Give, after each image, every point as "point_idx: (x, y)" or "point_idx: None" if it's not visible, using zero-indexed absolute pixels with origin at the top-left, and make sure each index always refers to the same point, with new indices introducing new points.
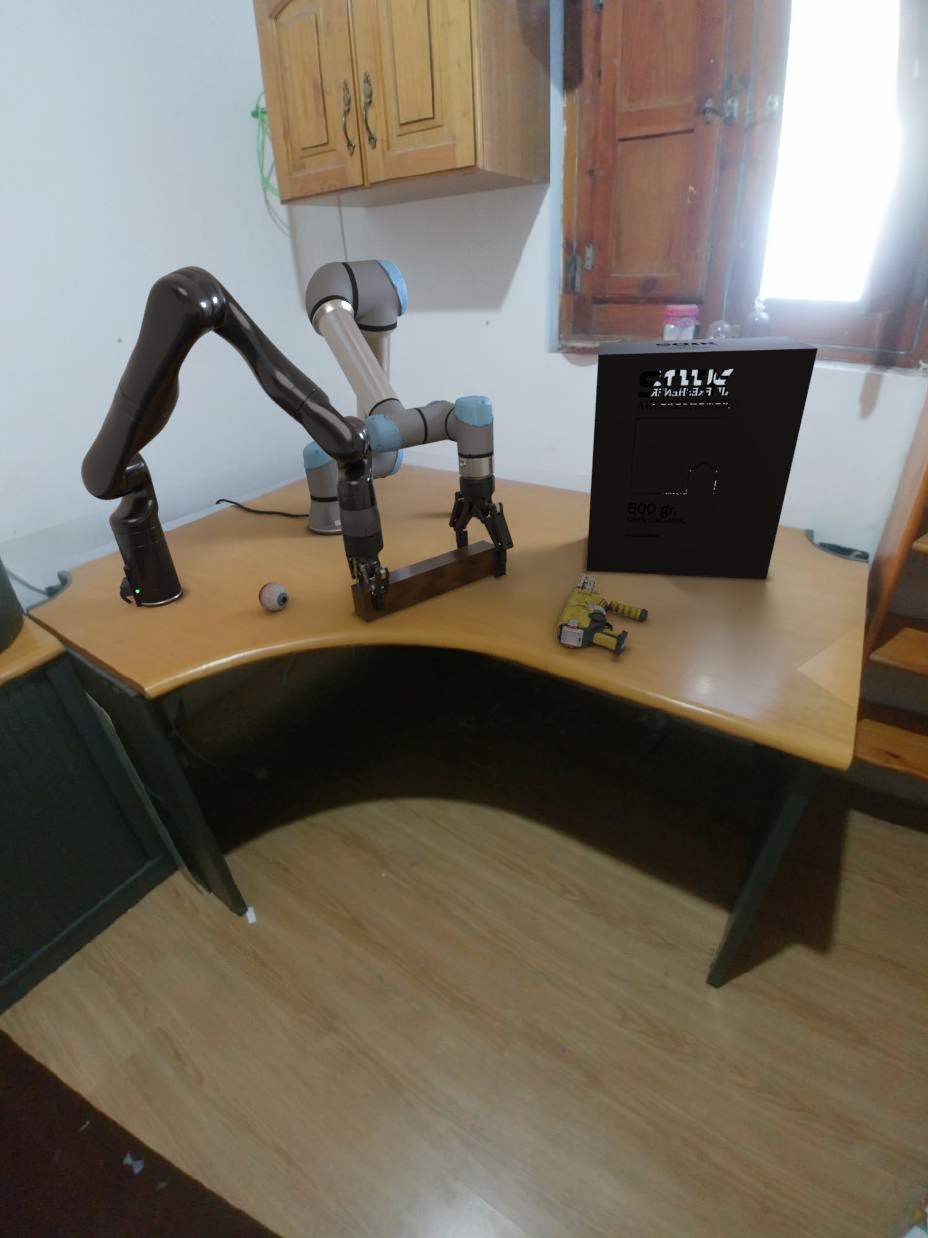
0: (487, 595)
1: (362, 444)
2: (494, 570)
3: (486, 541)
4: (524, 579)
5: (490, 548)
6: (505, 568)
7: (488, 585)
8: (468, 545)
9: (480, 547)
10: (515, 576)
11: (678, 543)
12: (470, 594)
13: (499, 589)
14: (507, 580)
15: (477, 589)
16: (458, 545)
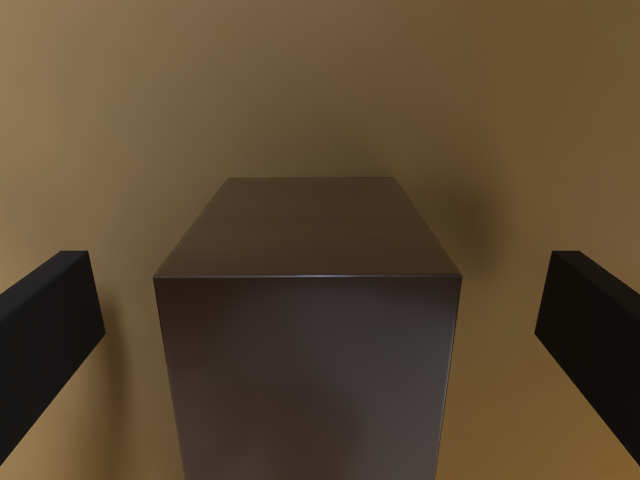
0: (569, 403)
1: None
2: (568, 370)
3: (224, 276)
4: (635, 100)
5: (446, 369)
6: (613, 280)
7: (487, 334)
8: (193, 477)
9: (332, 425)
10: (544, 118)
11: None
12: (485, 452)
13: None
14: (538, 206)
15: (472, 402)
16: (25, 425)
